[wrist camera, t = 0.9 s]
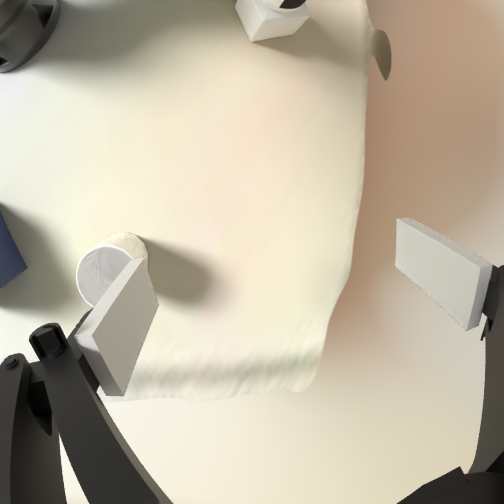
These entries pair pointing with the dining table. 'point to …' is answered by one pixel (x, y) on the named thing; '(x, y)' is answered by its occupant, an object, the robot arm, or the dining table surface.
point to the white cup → (107, 264)
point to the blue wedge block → (8, 256)
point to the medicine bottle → (271, 17)
